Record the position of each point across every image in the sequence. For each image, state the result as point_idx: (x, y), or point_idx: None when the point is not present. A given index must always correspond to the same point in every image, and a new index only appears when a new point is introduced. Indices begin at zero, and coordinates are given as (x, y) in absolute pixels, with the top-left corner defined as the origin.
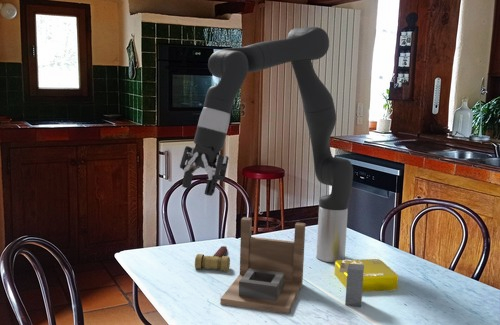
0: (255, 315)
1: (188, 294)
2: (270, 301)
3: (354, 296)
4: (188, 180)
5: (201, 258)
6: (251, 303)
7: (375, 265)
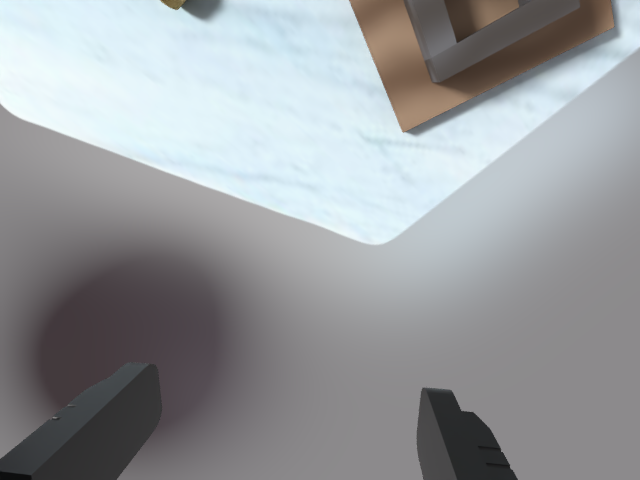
0: (514, 112)
1: (308, 148)
2: (535, 35)
3: None
4: (109, 443)
5: None
6: (488, 89)
7: None
